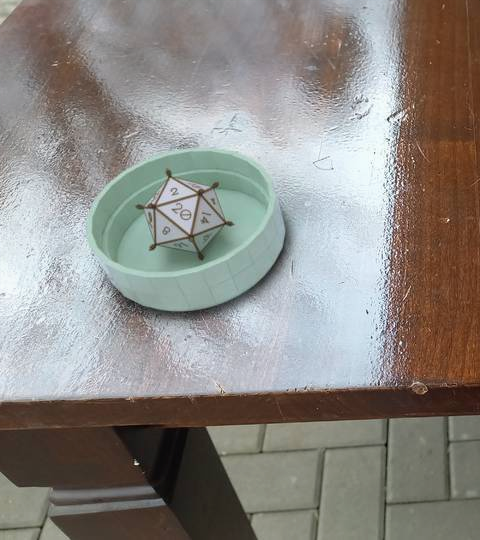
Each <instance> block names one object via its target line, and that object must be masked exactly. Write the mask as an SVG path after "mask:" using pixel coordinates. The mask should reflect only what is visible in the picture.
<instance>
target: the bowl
mask: <svg viewBox="0 0 480 540" xmlns="http://www.w3.org/2000/svg"><path fill="white" fill-rule="evenodd" d="M166 169H169V170H170V171H171V173H172V174H171V176H173V177H176V178H180V179H184V180H188V181H192V182H196V183H200V184H204V185H208V186H213V184H214V182H219V186H218V187H217V188H215V189H214V190H215V192H216V195H217V198H218V201H219V203H220V206H221V209H222V212H223V214H224V217H225V220H226V221H230V222H231V221H232V223H234V224H235V225H233V226H231V227H230V226H228V225H225V226H224V227H223V228H222V229H221V230H220V231H219V233H218V234H217V235H216V236H215V237H214V238H213V239H212V241H211V242H210V243H209V244H208V245H207V246H206V247H205V248H204V250H203V251H202V252H201V253H202V254H203V256H204V258H203V261H202V260H200V259H199V257H198V253H193V252H188V251H183V250H178V249H172V248H167V247H162V246H156V248H155V249H154V250H152V251H149V248H150V247H149V246H151V245H153V244H154V241H153V238H152V235H151V231H150V228H149V225H148V222H147V219H146V216H145V213H144V210H143V209H141V210H140V209H137V208H136V207H135V206H136V205H138V204H140V205H142V206H144V205H145V204H146V203H147V202H148V201H149V199H150V198H151V197H152V196H153V195H154V194H155V192H156V191H157V190H158V189H159V188H160V187H161V185H162V184H163V183H164V182H165V181H166V180H167V178H168V176H167V175H166V173H165V172H166ZM275 187H276V186H275V183H274V180H272V178H271V176H270V175H269V173H268V171H266V169H265V167H263V166H262V165H260V164H259V163H258V162H256V161H255V160H254V159H252V158H251V157H249V156H246V155H245V154H242V153H239V152H236V151H234V150H230V149H224V148H217V147H187V148H182V149H176V150H170V151H165V152H163V153H161V154H157V155H154V156H152V157H151V156H150V157H149V158H146V159H143V160H142V161H140V162H137V163H135V164H133V165H132V166H130V167H128V168H127V169H125V170H123V171H122V172H121V173H119V174H118V175H117V176H115V177H114V178H113V179H112V180H111V181H109V182H108V183H107V184H105V186H104V188H102V190H101V191H100V192H99V193H98V194H97V196H96V197H95V198H94V200H93V201H92V203H91V206H90V208H89V211H88V213H87V215H86V218H85V219H86V220H85V234H84V235H85V237H86V240H87V243H88V245H89V247H90V250H91V252H92V253H93V255H94V257H95V259H96V260H97V262H98V263H99V265H100V266H101V268H102V270H103V271H104V273H105V274H106V276H107V277H108V280H109V281H110V283H111V284H112V286H114V287H115V288H116V289H117V291H119V293H121V294H122V295H123V296H124V297H125V298H127V299H129V300H131V301H133V302H135V303H137V304H139V305H140V306H143V307H147V308H151V309H155V310H160V311H167V312H190V311H191V312H193V311H199V310H203V309H208V308H211V307H215V306H219V305H221V304H223V303H226V302H229V301H231V300H233V299H235V298H237V297H239V296H241V295H243V294H244V293H246V292H247V291H249V290H250V289H252V287H254V286H255V285H257V284H258V283H259V282H260V281H261V280H262V279H263V278H264V277H265V276H266V275H267V274H268V273H269V271H270V270H271V269H272V267H273V266H274V264H275V262H276V261H277V259H278V257H279V255H280V253H281V251H282V249H283V247H284V243H285V242H284V241H285V236H286V226H285V221H284V215H283V213H282V208H281V206H280V202H279V199H278V198H279V197H278V195H277V192H276V188H275Z"/></svg>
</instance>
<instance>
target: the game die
mask: <svg viewBox="0 0 480 540" xmlns="http://www.w3.org/2000/svg"><path fill="white" fill-rule="evenodd" d="M165 173H166V175H167V176H168V178H167V180H166V181H165V182H164V183H163V184H162V185H161V187H160V188H159V189H158V190H157V191H156V192H155V194H154V195H153V196H152V197H151V198H150V199H149V201H148V202H147V203H146V204H145V205H144V206H142V205H140V204H138V205H136V206H135V207H136V208H137V209H140V210H141V209H143V210H144V213H145V216H146V219H147V222H148V225H149V228H150V231H151V235H152V238H153V241H154V244H153V245H151V246H149V247H150V248H149V251H152V250H154V249H155V248H156V246H162V247H167V248H172V249H178V250H183V251H188V252H193V253H198V257H199V259H200V260H202V261H203V258H204V256H203V254H202V253H201V252H202V251H203V250H204V248H205V247H206V246H207V245H208V244H209V243H210V242H211V241H212V239H213V238H214V237H215V236H216V235H217V234H218V233H219V231H220V230H221V229H222V228H223V227H224V226H225V225H228V226H230V227H231V226H233V225H235V224H234V223H232V221H231V222H230V221H226V220H225V217H224V214H223V212H222V209H221V206H220V203H219V201H218V198H217V195H216V192H215V190H214V189H215V188H217V187H218V186H219V182H214V184H213V186H208V185H204V184H200V183H196V182H192V181H188V180H184V179H180V178H176V177H173V176H171V174H172V173H171V171H170V170H169V169H166V172H165Z"/></svg>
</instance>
